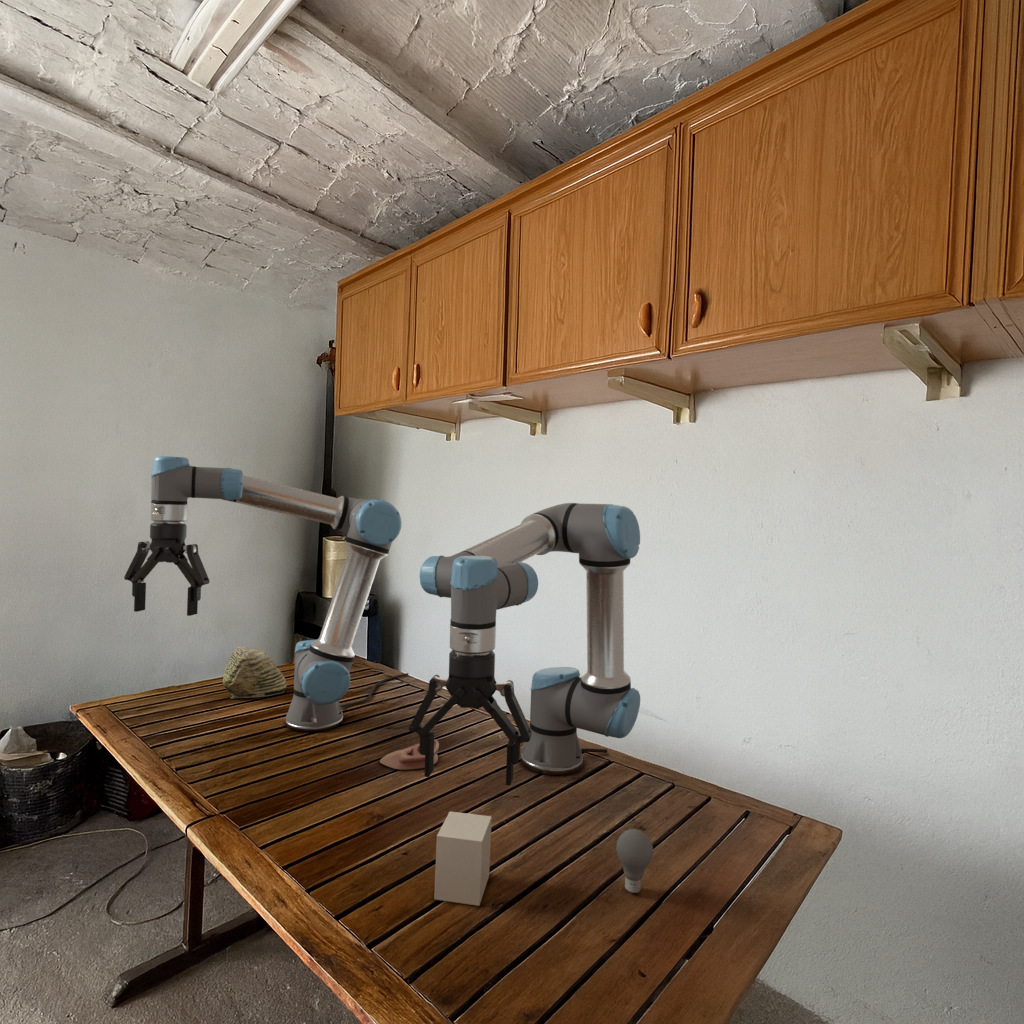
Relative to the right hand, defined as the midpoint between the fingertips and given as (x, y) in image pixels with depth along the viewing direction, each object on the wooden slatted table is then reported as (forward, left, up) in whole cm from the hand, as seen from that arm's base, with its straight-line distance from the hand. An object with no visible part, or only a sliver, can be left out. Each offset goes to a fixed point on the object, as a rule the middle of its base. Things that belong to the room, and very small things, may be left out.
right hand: (468, 777), depth 105 cm
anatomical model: (-1, -51, -18) cm, 54 cm away
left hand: (+55, -68, +16) cm, 89 cm away
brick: (0, 0, -18) cm, 18 cm away
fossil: (+36, -112, -18) cm, 119 cm away
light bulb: (-27, +9, -18) cm, 33 cm away
